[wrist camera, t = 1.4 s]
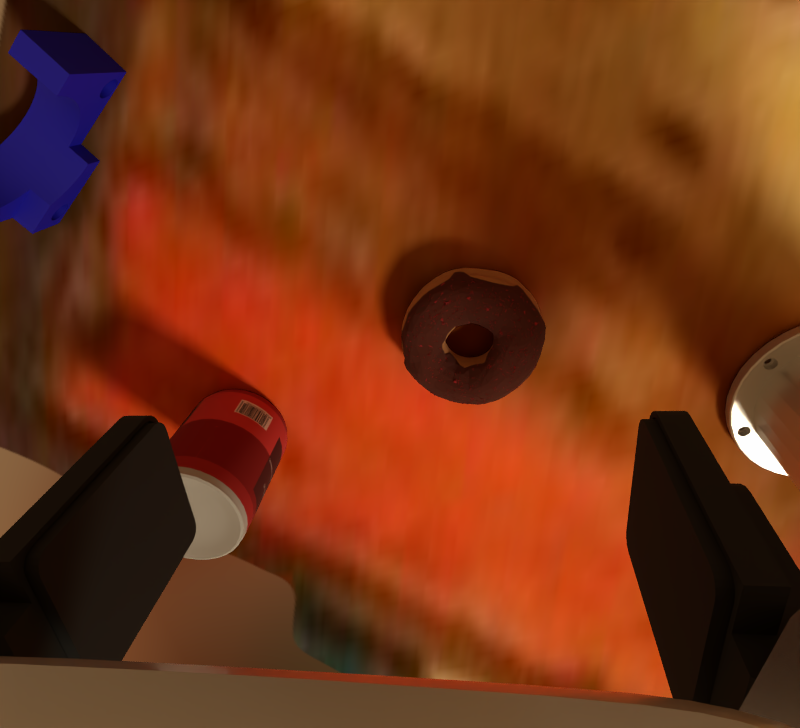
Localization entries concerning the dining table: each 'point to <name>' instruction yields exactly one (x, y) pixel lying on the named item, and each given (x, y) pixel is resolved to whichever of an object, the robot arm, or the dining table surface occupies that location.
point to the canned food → (227, 465)
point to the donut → (481, 304)
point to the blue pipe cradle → (54, 126)
